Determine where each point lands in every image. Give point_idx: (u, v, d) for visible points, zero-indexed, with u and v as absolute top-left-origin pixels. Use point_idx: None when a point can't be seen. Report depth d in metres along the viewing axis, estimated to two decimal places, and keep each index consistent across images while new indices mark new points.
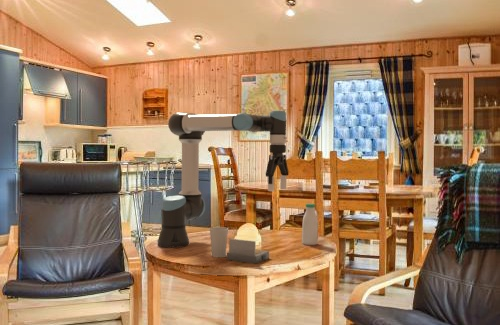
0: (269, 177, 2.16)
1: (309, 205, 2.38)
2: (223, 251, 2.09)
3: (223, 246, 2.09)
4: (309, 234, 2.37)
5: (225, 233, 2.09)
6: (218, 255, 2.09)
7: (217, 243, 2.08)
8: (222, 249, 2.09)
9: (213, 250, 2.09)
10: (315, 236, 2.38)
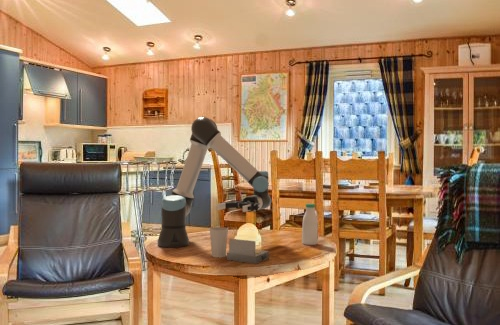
0: (252, 207, 2.21)
1: (309, 205, 2.38)
2: (223, 251, 2.09)
3: (223, 246, 2.09)
4: (309, 234, 2.37)
5: (225, 233, 2.09)
6: (218, 255, 2.09)
7: (217, 243, 2.08)
8: (222, 249, 2.09)
9: (213, 250, 2.09)
10: (315, 236, 2.38)
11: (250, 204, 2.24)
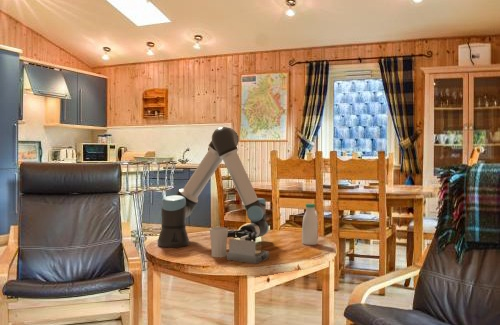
0: (250, 238, 2.19)
1: (309, 205, 2.38)
2: (223, 251, 2.09)
3: (223, 246, 2.09)
4: (309, 234, 2.37)
5: (225, 233, 2.09)
6: (218, 255, 2.09)
7: (217, 243, 2.08)
8: (222, 249, 2.09)
9: (213, 250, 2.09)
10: (315, 236, 2.38)
11: (248, 234, 2.21)
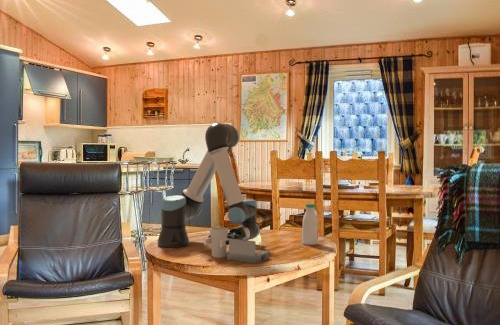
0: None
1: (309, 205, 2.38)
2: (223, 251, 2.09)
3: None
4: (309, 234, 2.37)
5: (225, 233, 2.09)
6: (218, 255, 2.09)
7: (217, 243, 2.08)
8: (222, 249, 2.09)
9: (213, 250, 2.09)
10: (315, 236, 2.38)
11: None
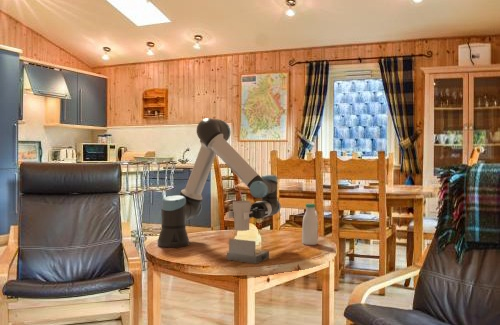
0: (254, 214, 2.06)
1: (309, 205, 2.38)
2: (246, 224, 2.05)
3: (246, 219, 2.05)
4: (309, 234, 2.37)
5: (248, 206, 2.05)
6: (241, 228, 2.05)
7: (241, 216, 2.04)
8: (245, 222, 2.05)
9: (236, 223, 2.05)
10: (315, 236, 2.38)
11: None
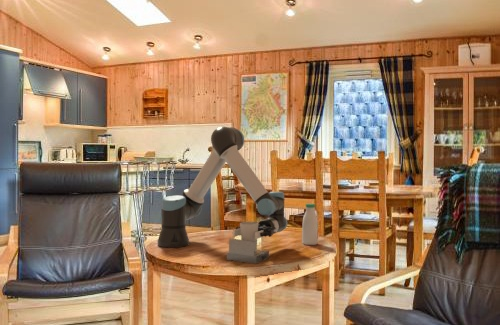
0: (265, 233, 2.05)
1: (309, 205, 2.38)
2: None
3: None
4: (309, 234, 2.37)
5: (256, 227, 2.04)
6: None
7: (248, 238, 2.03)
8: None
9: None
10: (315, 236, 2.38)
11: None
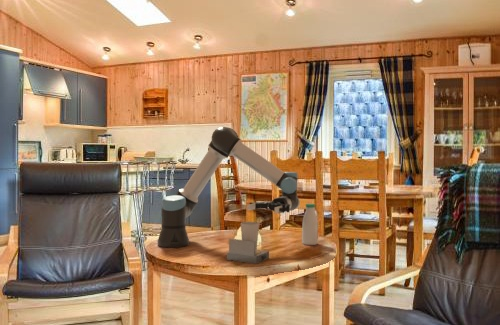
0: (284, 209, 2.17)
1: (309, 205, 2.38)
2: None
3: None
4: (309, 234, 2.37)
5: (256, 228, 2.04)
6: None
7: (249, 238, 2.03)
8: None
9: None
10: (315, 236, 2.38)
11: (281, 205, 2.19)
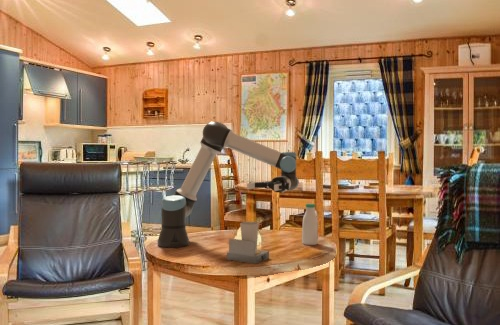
0: (283, 186, 2.17)
1: (309, 205, 2.38)
2: None
3: None
4: (309, 234, 2.37)
5: (256, 228, 2.04)
6: None
7: (248, 238, 2.03)
8: None
9: None
10: (315, 236, 2.38)
11: None
